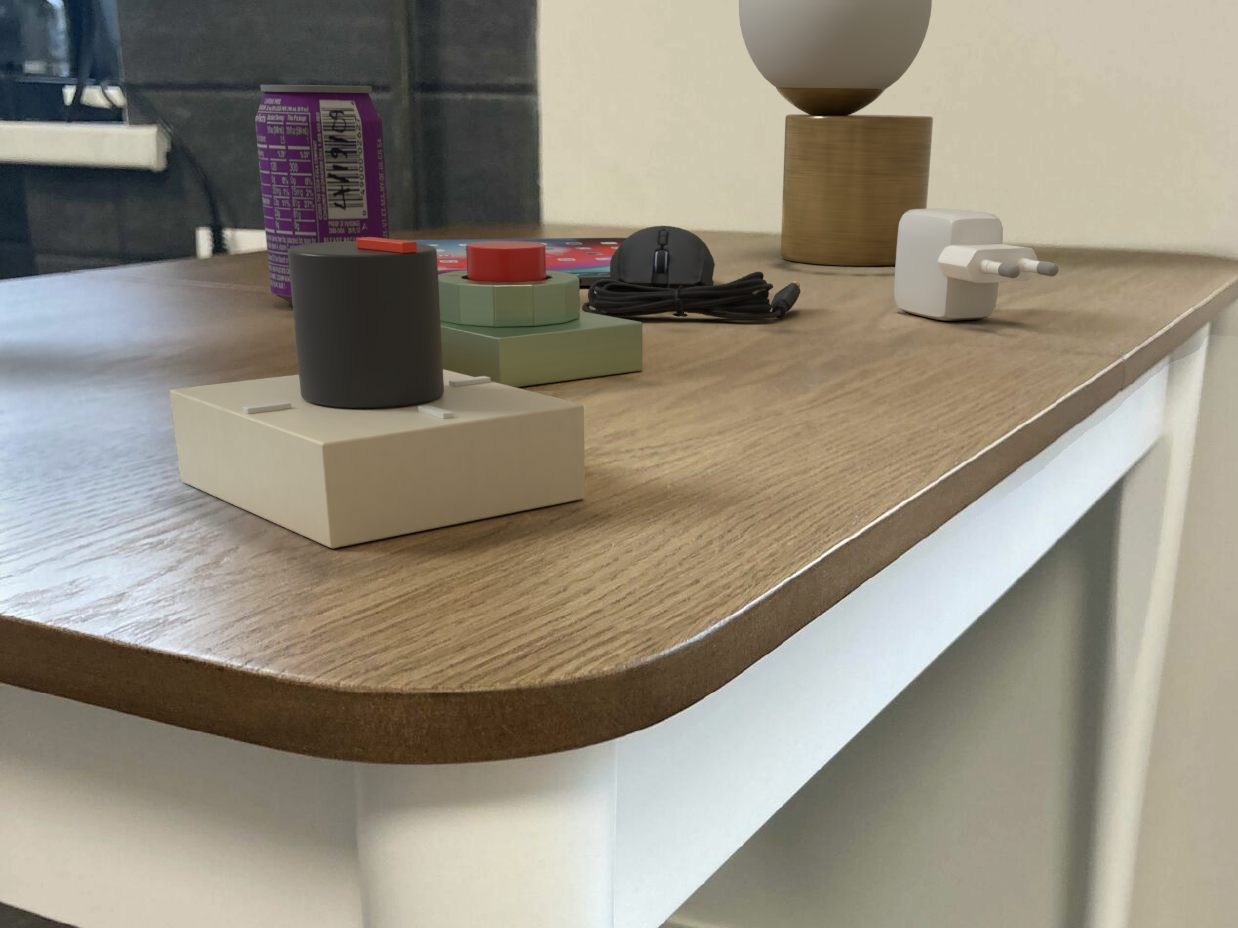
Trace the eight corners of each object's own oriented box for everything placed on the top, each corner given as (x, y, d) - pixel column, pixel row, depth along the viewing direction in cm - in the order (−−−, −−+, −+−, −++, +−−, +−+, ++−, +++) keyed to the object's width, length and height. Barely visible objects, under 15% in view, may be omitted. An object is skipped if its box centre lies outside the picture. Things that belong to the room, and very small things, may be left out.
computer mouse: (807, 285, 98) (810, 221, 96) (794, 327, 82) (797, 252, 80) (624, 279, 99) (624, 216, 97) (576, 320, 83) (575, 246, 81)
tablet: (430, 291, 94) (429, 277, 94) (392, 250, 116) (391, 239, 116) (716, 285, 99) (717, 272, 99) (628, 247, 121) (628, 237, 121)
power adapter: (1065, 333, 81) (1078, 221, 79) (993, 338, 79) (1004, 223, 77) (948, 307, 90) (956, 206, 88) (881, 311, 88) (887, 207, 86)
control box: (179, 481, 48) (167, 384, 47) (417, 444, 54) (412, 356, 52) (331, 549, 41) (321, 437, 40) (586, 499, 47) (584, 398, 45)
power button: (452, 283, 68) (450, 243, 67) (516, 278, 70) (515, 239, 70) (497, 291, 66) (495, 250, 65) (561, 285, 68) (561, 245, 67)
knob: (271, 395, 46) (256, 237, 44) (381, 377, 49) (371, 228, 47) (363, 415, 43) (351, 247, 41) (473, 394, 46) (466, 237, 45)
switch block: (380, 359, 70) (374, 272, 69) (517, 343, 75) (515, 262, 74) (500, 390, 64) (496, 294, 62) (643, 370, 68) (643, 281, 67)
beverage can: (410, 298, 91) (397, 86, 86) (367, 314, 85) (352, 86, 80) (301, 294, 92) (283, 85, 87) (251, 309, 86) (229, 84, 81)
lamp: (778, 272, 107) (792, -123, 97) (705, 253, 119) (711, -100, 109) (959, 266, 112) (990, -110, 102) (872, 248, 124) (892, -89, 114)
